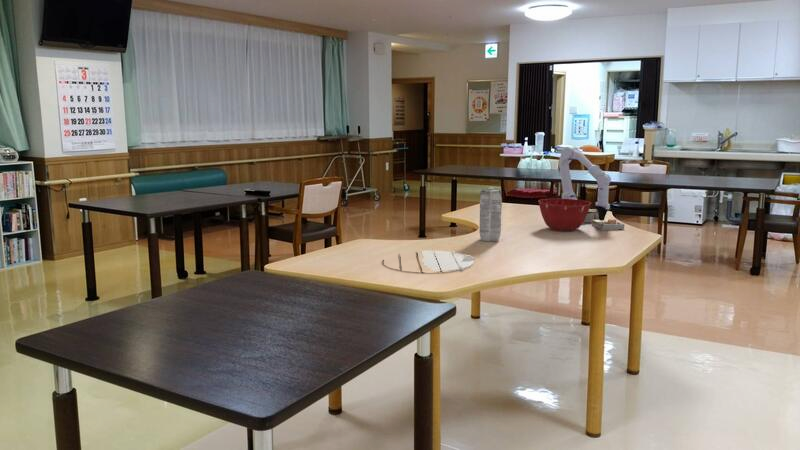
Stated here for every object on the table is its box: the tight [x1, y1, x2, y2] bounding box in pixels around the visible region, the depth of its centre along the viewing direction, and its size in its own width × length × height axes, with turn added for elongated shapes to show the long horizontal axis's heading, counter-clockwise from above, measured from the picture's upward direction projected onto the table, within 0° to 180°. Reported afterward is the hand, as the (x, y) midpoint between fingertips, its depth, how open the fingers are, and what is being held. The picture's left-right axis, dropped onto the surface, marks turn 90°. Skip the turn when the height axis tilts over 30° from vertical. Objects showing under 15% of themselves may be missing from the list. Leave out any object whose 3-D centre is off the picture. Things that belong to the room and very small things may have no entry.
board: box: [591, 219, 608, 228], centre depth 354 cm, size 11×8×3 cm
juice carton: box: [479, 186, 503, 243], centre depth 313 cm, size 9×10×27 cm
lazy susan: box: [421, 249, 476, 272], centre depth 269 cm, size 40×39×3 cm
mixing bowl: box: [538, 198, 592, 232], centre depth 344 cm, size 28×28×16 cm
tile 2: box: [607, 218, 617, 225], centre depth 349 cm, size 4×4×2 cm
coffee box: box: [582, 208, 599, 224], centre depth 370 cm, size 9×6×16 cm
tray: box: [595, 221, 625, 231], centre depth 346 cm, size 13×8×3 cm, turn 96°
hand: (601, 220), depth 351 cm, fingers closed
